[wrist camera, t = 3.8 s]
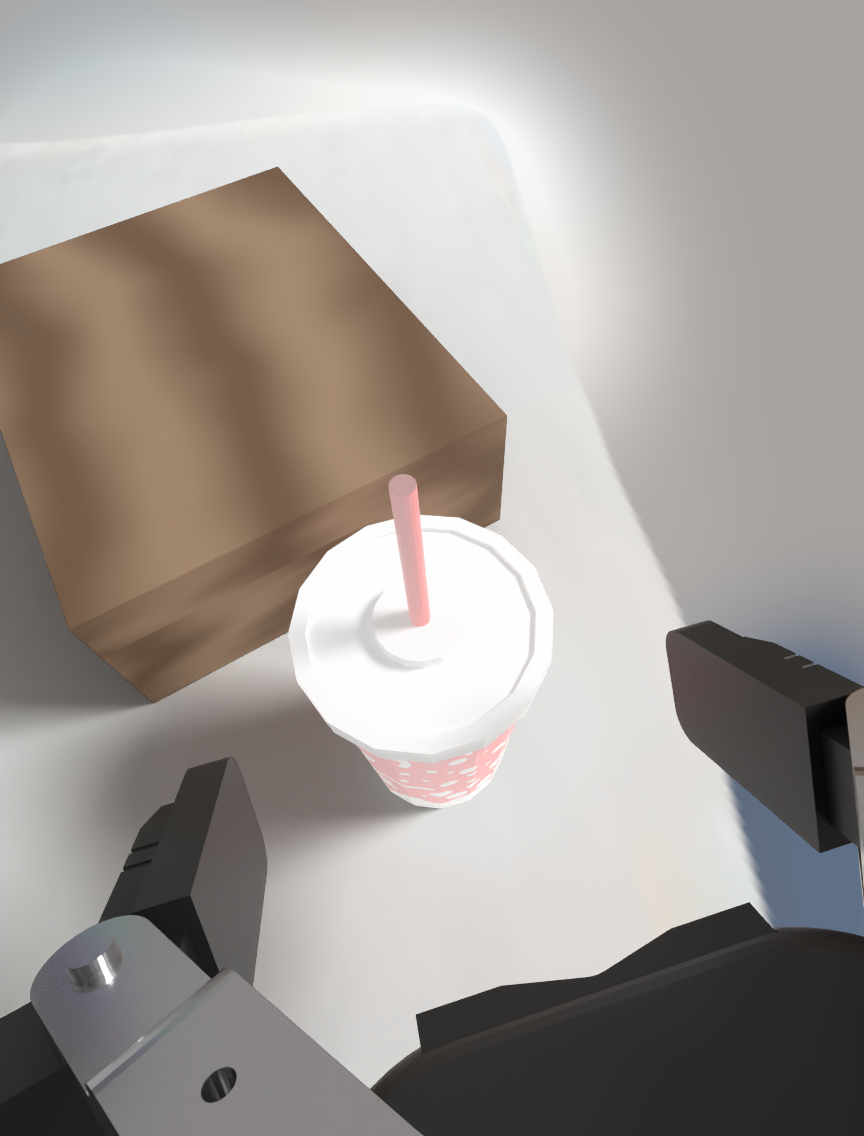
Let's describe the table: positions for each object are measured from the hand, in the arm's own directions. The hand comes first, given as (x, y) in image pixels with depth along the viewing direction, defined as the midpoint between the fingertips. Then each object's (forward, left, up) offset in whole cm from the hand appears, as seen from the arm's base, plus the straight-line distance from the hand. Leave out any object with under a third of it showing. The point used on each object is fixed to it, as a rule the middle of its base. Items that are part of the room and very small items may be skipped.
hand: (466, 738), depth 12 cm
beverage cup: (+1, +3, -11) cm, 12 cm away
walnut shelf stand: (0, +19, -11) cm, 22 cm away
